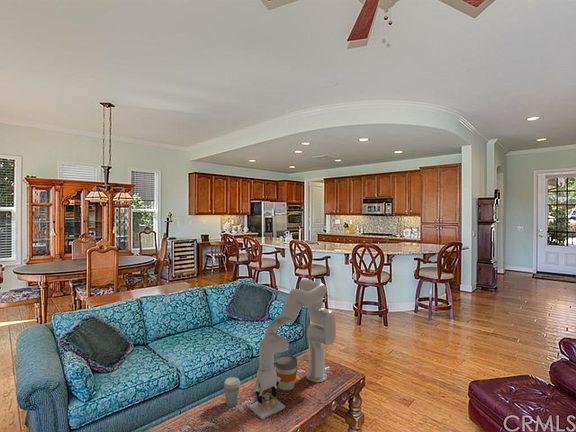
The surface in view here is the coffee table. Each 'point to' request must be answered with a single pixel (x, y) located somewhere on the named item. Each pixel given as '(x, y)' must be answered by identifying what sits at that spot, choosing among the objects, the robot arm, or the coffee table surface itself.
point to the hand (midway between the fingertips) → (266, 398)
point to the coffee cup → (232, 391)
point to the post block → (263, 414)
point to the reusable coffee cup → (286, 371)
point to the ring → (268, 402)
